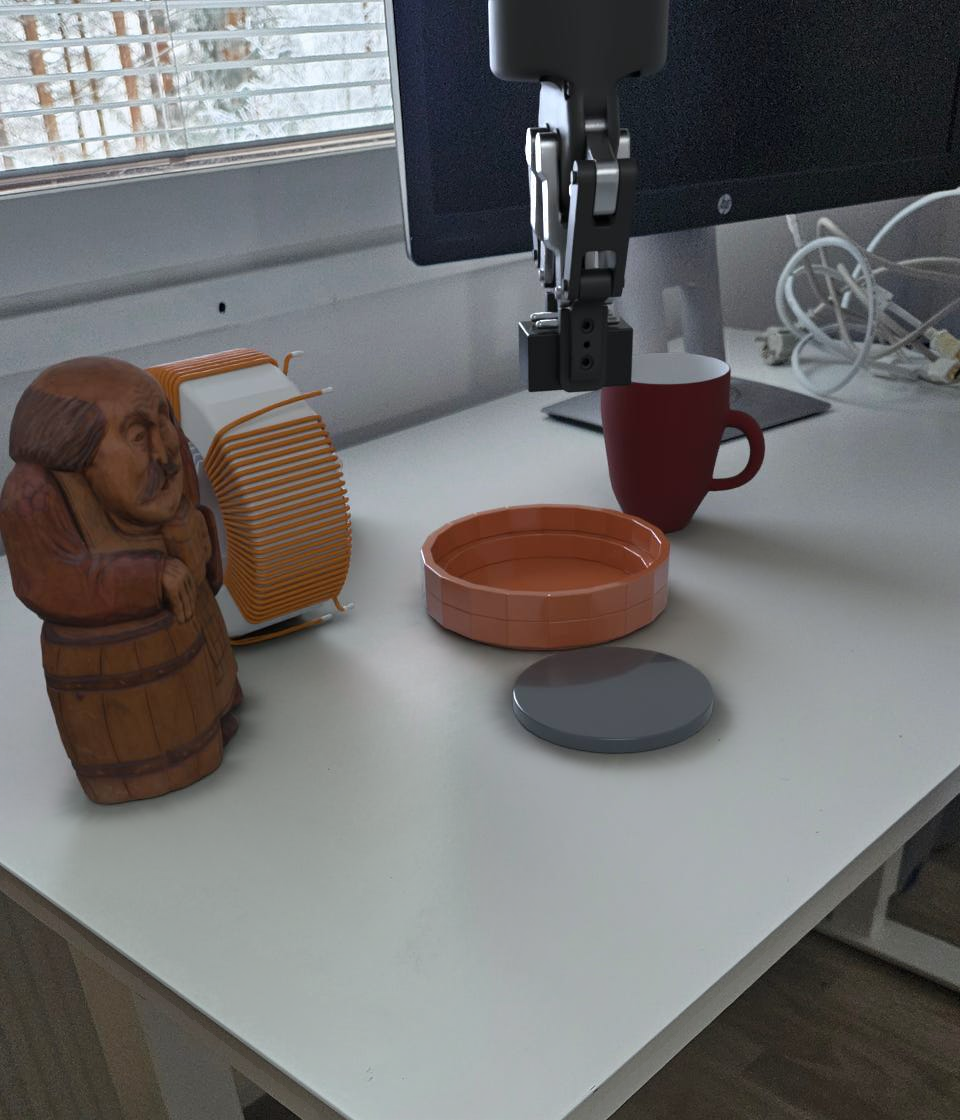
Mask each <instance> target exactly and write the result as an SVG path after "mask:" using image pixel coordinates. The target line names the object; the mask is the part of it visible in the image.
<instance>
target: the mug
mask: <svg viewBox="0 0 960 1120" xmlns="http://www.w3.org/2000/svg"><path fill="white" fill-rule="evenodd" d="M731 373H732V369H731V366H730V364H728V363H727V362H726V361H724V360H722V359H719V358H716V357H713V356H709V355H705V354H704V355H703V354H696V353H688V352H647V353H638V354H637V353H636V354H632V379H631V385H628V386H614V387H603V388H602V389H600V418H601V425H602V433H603V439H604V448H605V454H606V461H607V468H608V475H609V481H610V485H611V490H612V492H613V494H614V497H615V499H616V502H617V504H618V505H619V507H620V509H621V512H622V513H625V514H629V515H632V516H635V517H639V518H641V519H643V520H645V521H646V522H648V523H650V524H652V525H654V526H655V527H657V528H659V529H660V530H661V531H662V532H663V533H664V534H665V533H672V532H677V531H680V530H682V529H684V528H685V527H687V526H688V524H689V523H690V521H691V520H692V518H693V517H694V515H695V514H696V512H697V510H698V509H699V507H700V505H701V504H702V503H703V501H704V499H705V498H706V496H707V495H708V494H709V492H723V491H729V490H734V489H737V488H740V487H743V486H745V485H746V484H748V483H749V482H751V481H752V480H753V479H754V478H755V477H756V475H757V474H758V472H759V471H760V469H761V467H762V465H763V463H764V459H765V455H766V441H765V436H764V433H763V430H762V428H761V426H760V424H759V423H758V422H757V420H756V419H755V418H754V417H753V416H752V415H751V414H749V413H747V412H745V411H743V410H738V409H731V406H730V404H731V403H730V397H731V395H730V394H731V377H732V376H731V375H732V374H731ZM728 428H731V429H737V430H739V431H740V432H742V434H744V436H745V437H746V440H747V442H748V446H749V457H748V460H747V463H746V465H745V467H744V468H743V469H742V470H741V471H740V472H739V473H737V474H736V475H733V476H729V477H722V478H721V477H719V478H714V471H715V467H716V464H717V459H718V455H719V451H720V448H721V443H722V440H723V437H724V433H725V430H726V429H728Z"/></svg>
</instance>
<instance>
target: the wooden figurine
mask: <svg viewBox="0 0 960 1120" xmlns="http://www.w3.org/2000/svg"><path fill="white" fill-rule="evenodd" d="M8 439H9V440H8V456H9V458H10V460H12V461H13V462H14V463H15V464H14V466H13V468H12V470H11V471H10V472H9V473H8V475H7V476H6V478H5V479H4V482H3V485H2V488H1V492H0V537H1V541H2V544H3V549H4V552H5V555H6V560H7V564H8V570H9V574H10V579H11V585H12V590H13V592H14V595H15V597H16V598H17V599H18V600H19V601H20V602H21V603H22V605H23V606H25V608H26V609H28V610H29V611H30V612H32V613H34V614H35V615H36V616H37V618H39V619H40V620H42V624H41V629H40V636H39V638H40V639H39V640H40V651H41V665H42V669H43V674H44V675H43V676H44V679H45V685H46V686H45V687H46V693H47V697H48V700H49V703H50V707H51V709H52V713H53V716H54V720H55V723H56V727H57V731H58V734H59V737H60V740H61V744H62V746H63V749H64V752H65V754H66V756H67V759H69V760H70V764H71V766H72V769H73V770H74V771H75V776H76V778H77V779H78V782H79V784H80V786H81V788H82V791H83V793H84V794H85V796H86V797H87V799H88V800H90V801H91V802H93V803H96V804H97V803H98V804H105V805H106V804H107V805H108V804H118V803H125V802H131V801H136V800H142V799H151V798H155V797H158V796H163V795H165V794H166V793H169V792H172V791H177V790H180V789H184V788H186V787H188V786H190V785H192V784H194V783H196V782H199V780H201V779H202V778H204V777H205V776H207V775H209V774H211V773H213V772H214V771H216V769H217V768H218V767H219V766H220V765H221V764H222V762H223V755H224V753H223V748H224V747H225V746H227V745H228V744H229V742H230V739H231V737H232V736H233V735H234V734H235V733H236V732H237V731H238V729H239V722H238V719H237V717H236V716H235V715H233V714H232V713H231V710H232V709H234V708H235V707H236V706H238V705H240V704H241V703H242V702H244V698H245V696H244V693H243V688H242V686H241V684H240V681H239V677H238V673H239V672H238V671H239V668H238V662H237V659H236V657H235V654H234V653H235V652H234V651H233V647H232V645H231V644H230V640H229V636H228V632H227V628H226V624H225V621H224V618H223V616H222V613H221V610H220V607H219V605H218V603H217V601H216V598H215V596H216V595H217V594H218V592H219V590H220V588H221V586H222V583H223V568H222V559H221V551H220V545H219V539H218V532H217V526H216V521H215V517H214V514H213V512H212V511H211V509H210V508H208V507H207V506H205V505H202V504H200V492H199V482H198V476H197V472H196V468H195V464H194V460H193V456H192V453H191V450H190V447H189V444H188V442H187V439H186V436H185V434H184V432H183V430H182V428H181V426H180V424H179V422H178V420H177V418H176V416H175V415H174V410H173V407H172V405H171V403H170V401H169V399H168V398H167V396H166V393H165V391H164V389H163V388H162V386H161V385H160V384H159V382H158V381H157V380H156V378H155V377H154V376H152V375H151V374H150V373H148V372H147V371H145V370H144V369H143V368H140V367H139V366H137V365H135V364H133V363H131V362H129V361H127V360H124V359H120V358H114V357H109V356H103V355H89V356H80V357H75V358H71V359H67V360H64V361H60V362H58V363H55V364H52V365H50V366H48V367H46V368H44V369H43V370H42V371H41V372H40V373H39V374H38V375H37V376H36V377H35V378H34V379H33V380H32V382H31V383H30V384H29V385H28V386H27V387H26V388H24V391H23V392H22V394H21V395H20V397H19V400H18V401H17V403H16V405H15V409H14V412H13V416H12V419H11V423H10V429H9V437H8Z"/></svg>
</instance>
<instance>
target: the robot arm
mask: <svg viewBox="0 0 960 1120" xmlns="http://www.w3.org/2000/svg"><path fill="white" fill-rule="evenodd" d="M487 2H488V3H487V4H488V7H487V8H488V39H489V41H488V42H489V67H490V70H491V72H492V74H493V75H494V76H495V77H496V78H497V79H499V80H502V81H505V82H506V81H507V82H516V83H517V82H521V83H540V85H541V88H540V90H539V107H538V127H528V128H527V130H526V143H525V145H524V152H525V156H526V162H527V169H528V172H527V173H528V186H529V198H530V199H529V200H530V226H531V228H532V229H531V230H532V241H533V249H532V261H533V262H534V265H535V269H538V273H537V274H538V275H537V276H538V281H539V282H540V286H541V289H542V290H548V289H549V290H550V291H544V313H548V312H558V382H559V385H560V386H561V387H562V389H563V390H562V391H564V392H566V393H568V394H571V393H584V392H585V393H586V392H597V391H601V389H602V388H603V387H604V385H605V383H606V373H607V330H608V309H609V305H612V304H613V303H614V298H621V297H622V296H623V291H624V288H625V285H626V284H625V283H626V278H625V277H626V268H627V261H628V252H629V246H630V237H631V230H632V223H633V222H632V221H633V214H634V207H635V200H636V199H635V198H636V191H637V185H638V184H637V183H638V182H639V178H640V169H639V167H638V164H637V159H636V158H635V157H631V136H630V135H631V134H630V131H629V128H621V123H620V122H621V121H620V101H619V100H620V99H619V95H618V93H617V92H618V89H619V84H620V82H622V80H624V79H627V78H643V77H649V76H653V75H655V74H658V73H659V72H660V71H662V69H663V68H664V66H665V64H666V62H667V56H668V35H669V16H670V15H669V12H670V0H488V1H487ZM596 252H597V267H596V266H595V263H596Z"/></svg>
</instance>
